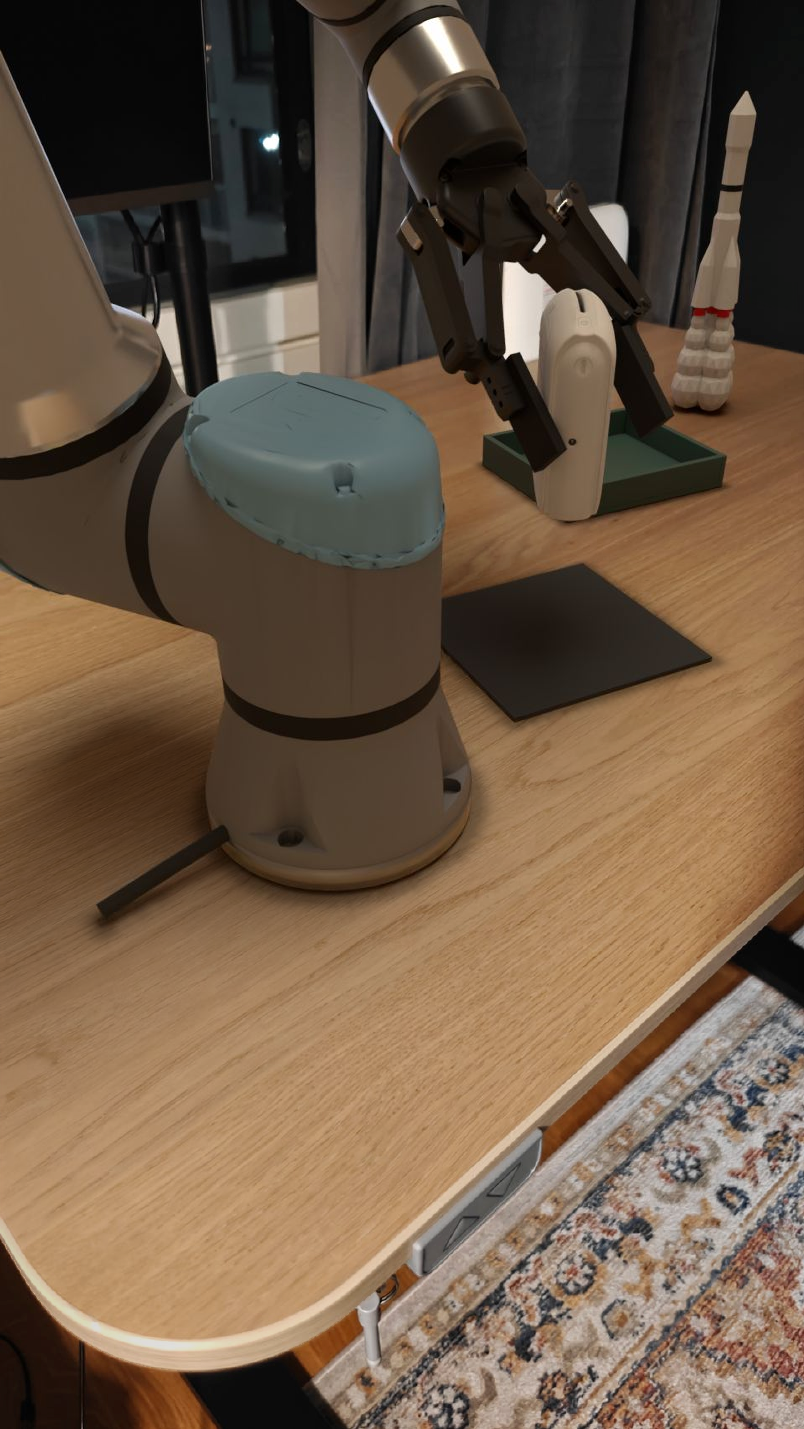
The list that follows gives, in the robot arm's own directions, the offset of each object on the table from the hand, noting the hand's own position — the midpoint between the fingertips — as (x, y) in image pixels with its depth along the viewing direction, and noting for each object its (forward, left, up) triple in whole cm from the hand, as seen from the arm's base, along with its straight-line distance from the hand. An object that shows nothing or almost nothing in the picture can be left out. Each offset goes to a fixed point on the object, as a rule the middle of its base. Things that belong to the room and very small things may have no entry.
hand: (605, 443), depth 63 cm
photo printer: (-1, +3, -4) cm, 5 cm away
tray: (+19, +26, -15) cm, 36 cm away
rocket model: (+40, +37, -16) cm, 57 cm away
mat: (-1, +3, -15) cm, 16 cm away
